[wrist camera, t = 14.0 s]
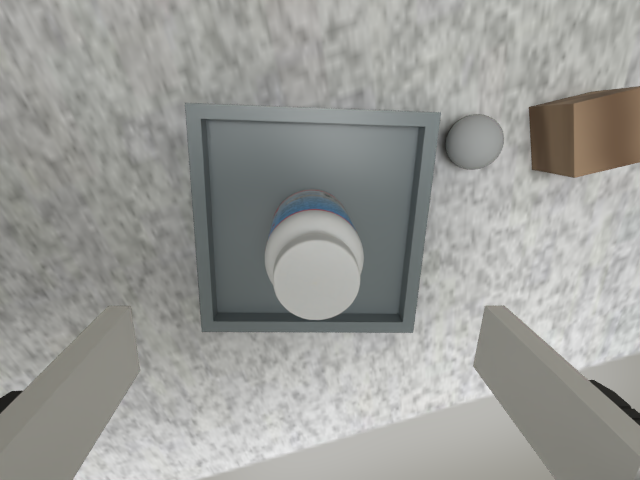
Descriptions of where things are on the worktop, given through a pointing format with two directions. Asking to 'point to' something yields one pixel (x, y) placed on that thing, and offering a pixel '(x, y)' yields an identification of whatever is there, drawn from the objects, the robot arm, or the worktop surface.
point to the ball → (474, 141)
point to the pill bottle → (314, 255)
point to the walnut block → (586, 132)
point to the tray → (300, 174)
